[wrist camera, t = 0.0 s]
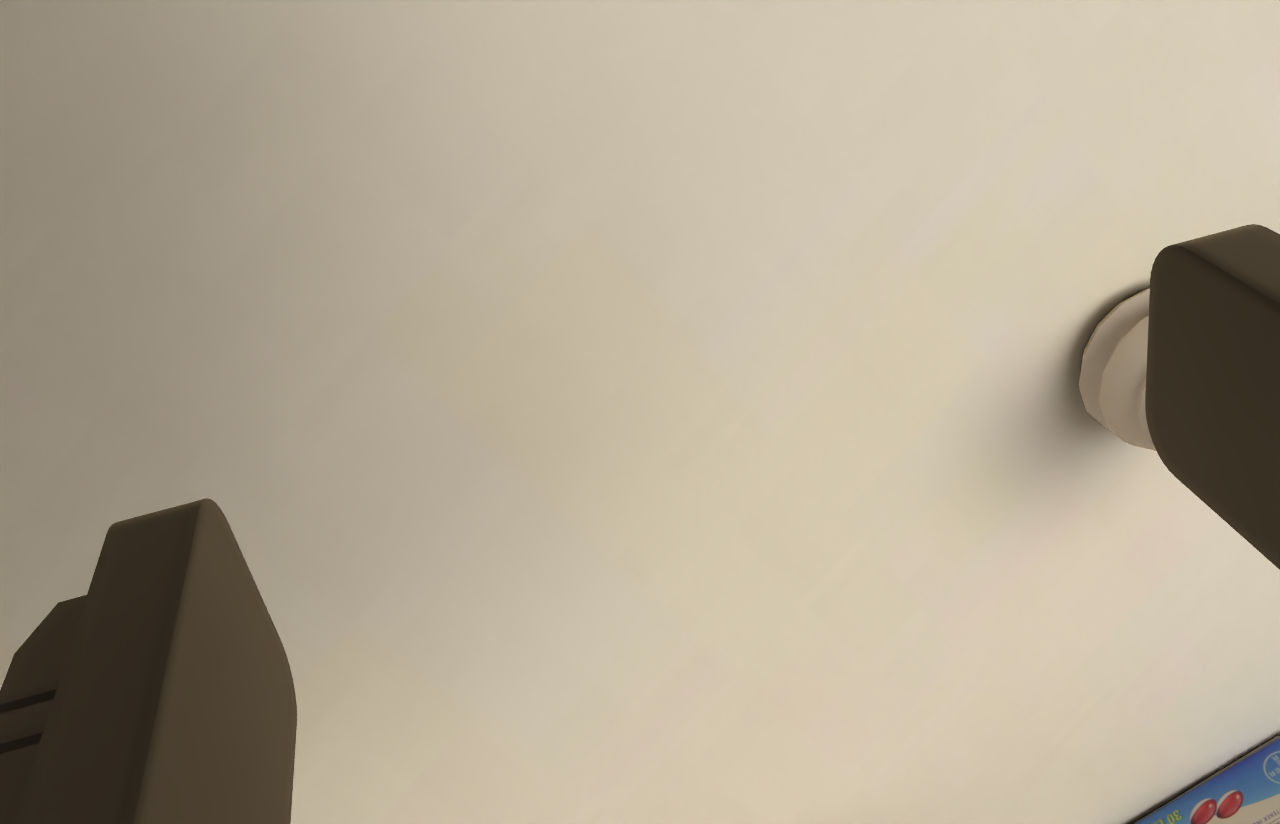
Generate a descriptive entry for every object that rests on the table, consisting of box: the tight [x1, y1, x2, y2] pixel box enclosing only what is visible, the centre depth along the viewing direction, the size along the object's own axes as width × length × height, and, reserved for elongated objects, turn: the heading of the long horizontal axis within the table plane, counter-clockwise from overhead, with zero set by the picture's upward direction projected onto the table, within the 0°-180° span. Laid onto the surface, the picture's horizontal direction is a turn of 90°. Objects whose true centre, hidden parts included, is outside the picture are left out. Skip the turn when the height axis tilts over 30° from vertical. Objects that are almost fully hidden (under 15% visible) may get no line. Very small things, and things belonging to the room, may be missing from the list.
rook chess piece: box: [1079, 288, 1156, 450], centre depth 29 cm, size 4×4×8 cm
